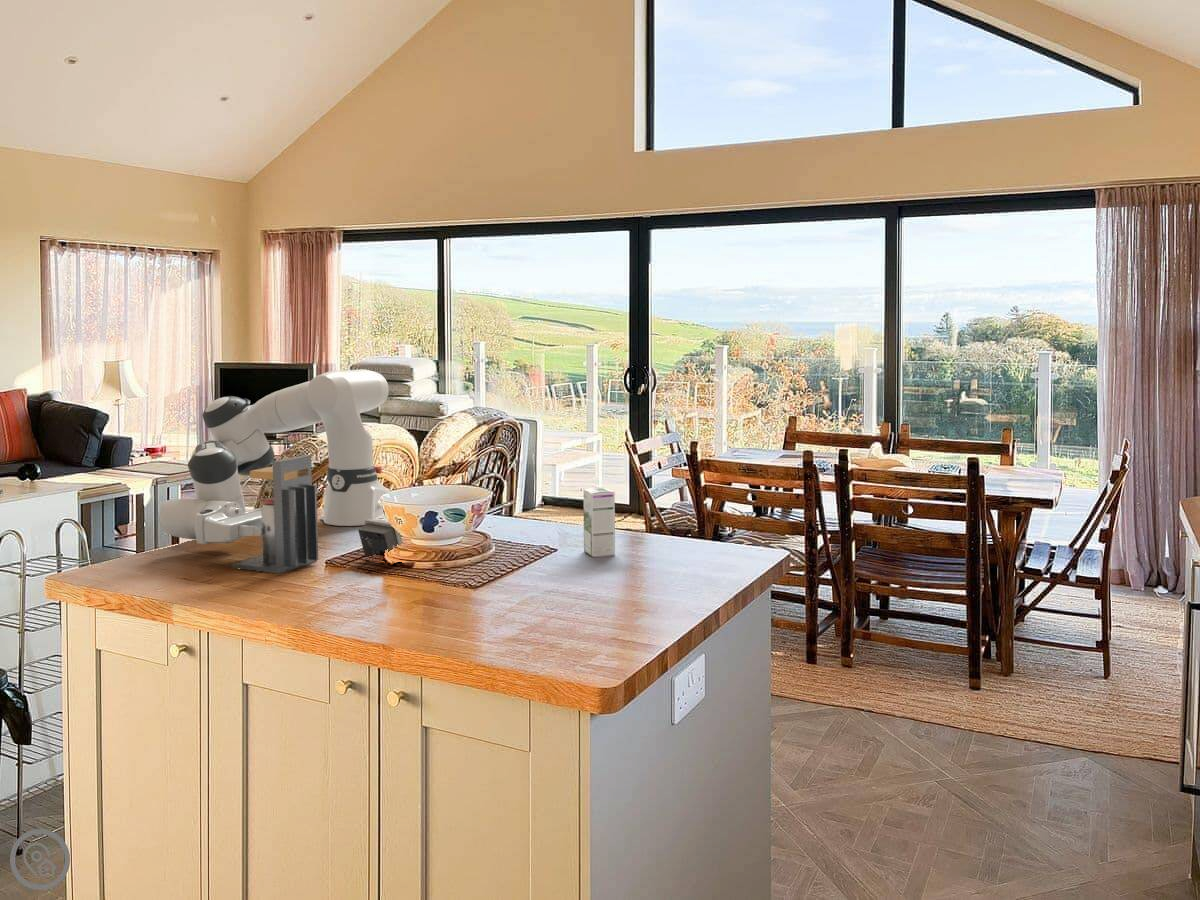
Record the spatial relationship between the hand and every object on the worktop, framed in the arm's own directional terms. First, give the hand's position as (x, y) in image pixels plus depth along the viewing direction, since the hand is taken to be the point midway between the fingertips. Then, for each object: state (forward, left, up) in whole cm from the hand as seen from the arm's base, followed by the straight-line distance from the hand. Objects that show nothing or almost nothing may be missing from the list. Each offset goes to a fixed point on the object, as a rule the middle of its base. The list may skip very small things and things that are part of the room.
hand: (277, 526), depth 213 cm
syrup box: (-35, +59, -8) cm, 69 cm away
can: (0, -1, -7) cm, 7 cm away
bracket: (0, -1, -8) cm, 8 cm away
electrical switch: (-10, +19, -8) cm, 23 cm away
